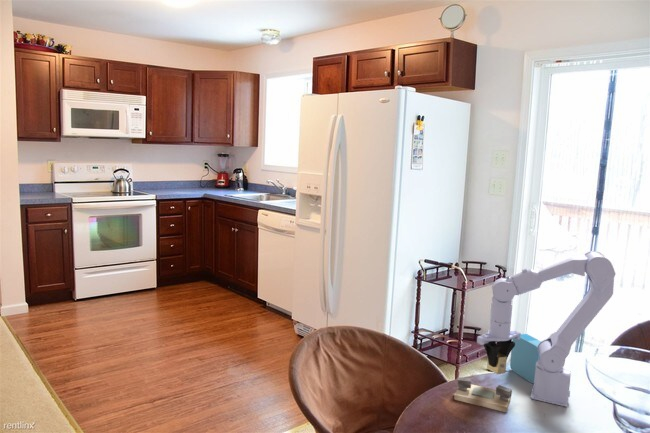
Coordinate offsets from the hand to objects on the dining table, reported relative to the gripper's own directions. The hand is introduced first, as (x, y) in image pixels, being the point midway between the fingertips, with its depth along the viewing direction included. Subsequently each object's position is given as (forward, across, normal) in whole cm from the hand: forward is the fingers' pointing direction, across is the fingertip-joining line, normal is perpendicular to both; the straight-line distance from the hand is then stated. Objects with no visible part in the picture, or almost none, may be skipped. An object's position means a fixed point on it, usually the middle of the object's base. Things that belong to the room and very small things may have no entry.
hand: (496, 364), depth 149 cm
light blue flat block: (+7, -16, -3) cm, 18 cm away
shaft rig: (+7, +8, +4) cm, 12 cm away
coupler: (+2, 0, 0) cm, 2 cm away
